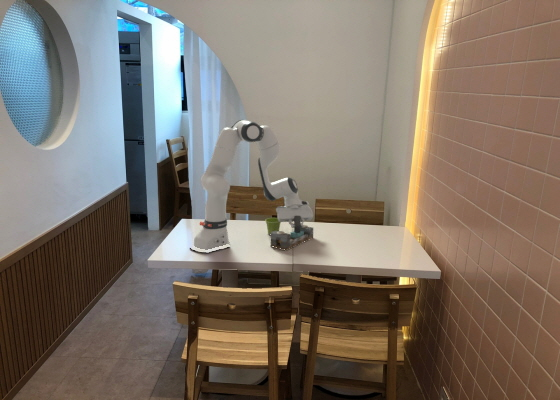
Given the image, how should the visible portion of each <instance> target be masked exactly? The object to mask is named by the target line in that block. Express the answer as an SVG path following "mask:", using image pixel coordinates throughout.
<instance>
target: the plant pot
mask: <svg viewBox="0 0 560 400" xmlns="http://www.w3.org/2000/svg"><path fill="white" fill-rule="evenodd" d="M265 223H266V227H267V235H268V234H271V232H273V231H280V226H281V223H282V222H279V221H278V217H269V218H266V219H265Z"/></svg>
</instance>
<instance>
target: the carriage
mask: <svg viewBox="0 0 560 400" xmlns="http://www.w3.org/2000/svg"><path fill="white" fill-rule="evenodd" d="M301 223H302V222H301V216H294V221H293V224H294V225H295V227H294V228H293V231H291V232H290V233H289V234H290V238H295V239H296V238H298V237H301V236H303V235H304V231H300V229H301Z"/></svg>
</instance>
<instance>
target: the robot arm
mask: <svg viewBox="0 0 560 400" xmlns="http://www.w3.org/2000/svg"><path fill="white" fill-rule="evenodd" d="M242 141H243V142H246V143H256V144H257V147H258V149H259V153H260V154H259V155H260V156H259V158H258V159H257V161H258V162H257V163H258V164H257V165H258V171H259V174H260V179H261V182H262V183H261V184H262V189H263V195H264V198H265V199H266V200H269V201H271V202H274V201H277V200H279V199H280V198H283V199H284V205H283V206H282V205H281V206H280V205H278V206H277V207H276V208H275V211H276V212H275V213H277V218H278V221H279V222H281V223H286V222H288V224H289V225H290V226H291V227H290V228H292V229H294V227H295V225H294V216H301V227H303V225H304V222H305V221H312V220H313V219H314V212H313V210H312V208H311V207H310V203H309V201H307V200H306V201H305V200H302V199H300V197H299V189H298V185H297V182H296V180H295V179H293V178H292V177H289V176H288V177H284V178H281V179H279V180H276V181H273V182H271V181H270V177H269V173H268V168H269V167H270V166H271V165H272V164H273V163H274V162H276V160H277V159H278V158H279V157H280V154H281V151H282V149H281V146H280V143H279V141H278V138H277V136H276V134H275V133H274V131H273V130H272V128H271V127H270V126H269V125H265V124H264V125H260V124H258V123H257V122H255V121H251V120H249V119H239V120H238V121H236V122H235V123H234V124H233V125H232V126H231V127H223V129H222V130H221V132H220V133H219V136H218V138H217V140H216V142H215V146H214V149H213V152H212V156H211V158H210V161H209V163H208V165H207V167H206V169H205V171H204V173H203V174H202V175H201V177H200V184H201V186H202V187H201V188H203V190H204V191H206V193H207V195H206V201H205V204H204V210H205V211H204V215H205V216H204V217H205V219H204V220H203V221H199V226H202V228H201V229H200V230H199V232H197V234H196V235H195V236H194V238H193V239H194V240H193V245H194V246H195V247H197V248H200V249H205V250H208V249H212V248H215V247H219V246H223V245H226V244H229V243H230V240H229V234H228V228H227V226H228V219H227V201H228V194H229V192H230V189H231V184H230V183H229V180H228V179H227V178H226V177H225V176H226V174H227V172H228V171H229V170H230V168H231V167H232V164H233V162H234V158H235V155H236V153H237V149H238V145H239V144H240V142H242Z"/></svg>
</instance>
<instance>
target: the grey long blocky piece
mask: <svg viewBox="0 0 560 400" xmlns="http://www.w3.org/2000/svg"><path fill="white" fill-rule="evenodd" d="M300 231H304V235H303V236H301V237H298V238H296V239H295V238H290V233H287V232H286V233H285V232H284V231H283V230H279V231H273V232H271V235H270V247H271V246H274V247H277V248H281V249H285V250H286V251H288V250H290V249H289V248H291V247H293V246H295V245H297V246H299V245H301V244H302V242H303V243H305V242H307V241H309V239H310V240H312V239H313V238H314V227H310V226H308V225H307V224H303V227H301V229H300ZM311 238H312V239H311ZM279 240H281V244H280V243H279ZM304 241H305V242H304ZM300 243H301V244H300ZM298 244H299V245H298ZM295 247H296V246H295ZM277 248H276V249H277ZM293 248H294V247H293ZM281 249H280V250H281ZM287 249H288V250H287ZM291 249H292V248H291ZM285 250H284V251H285Z"/></svg>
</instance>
